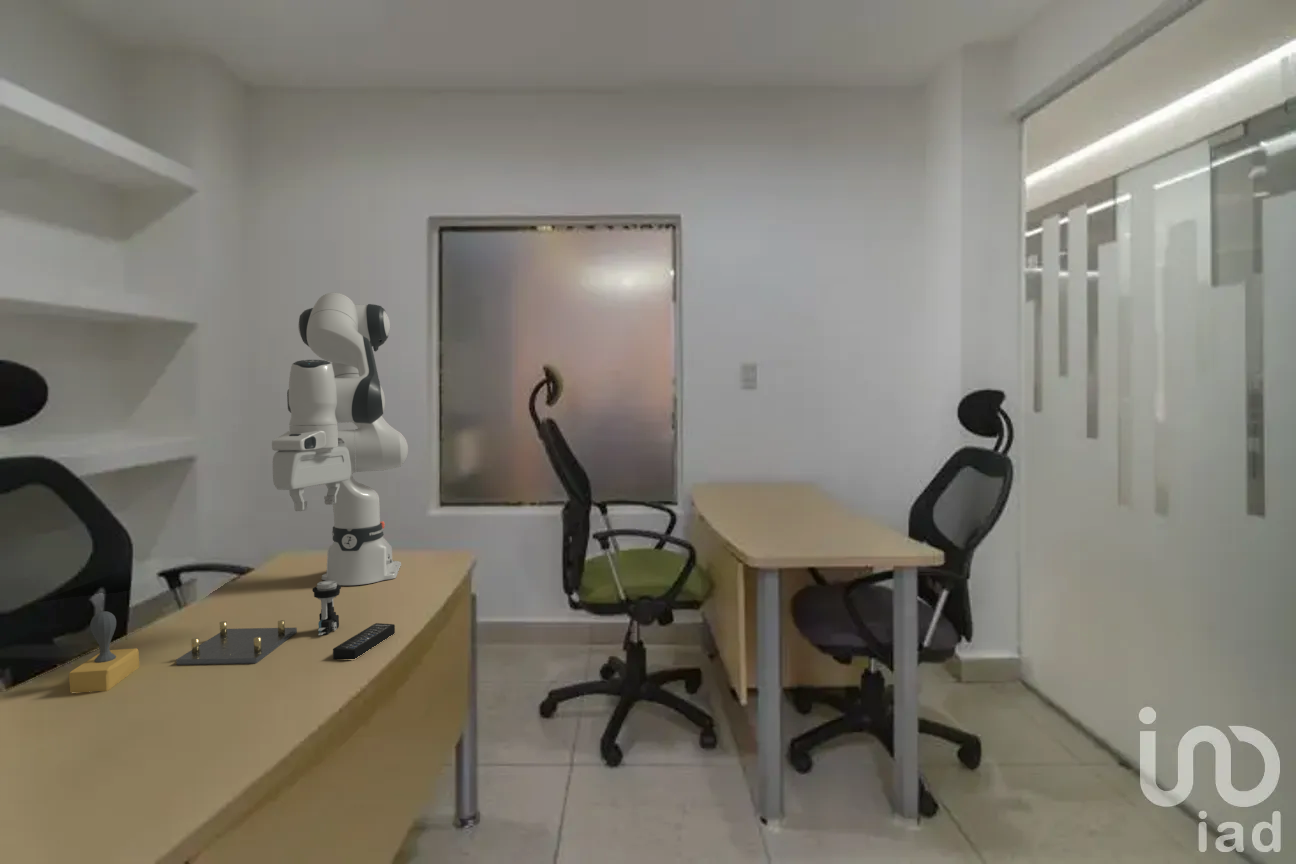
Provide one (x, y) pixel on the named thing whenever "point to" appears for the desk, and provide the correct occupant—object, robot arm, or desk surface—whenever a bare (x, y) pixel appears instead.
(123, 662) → the rubber stamp
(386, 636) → the multiport hub
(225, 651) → the chassis
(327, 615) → the push button
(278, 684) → the desk surface
